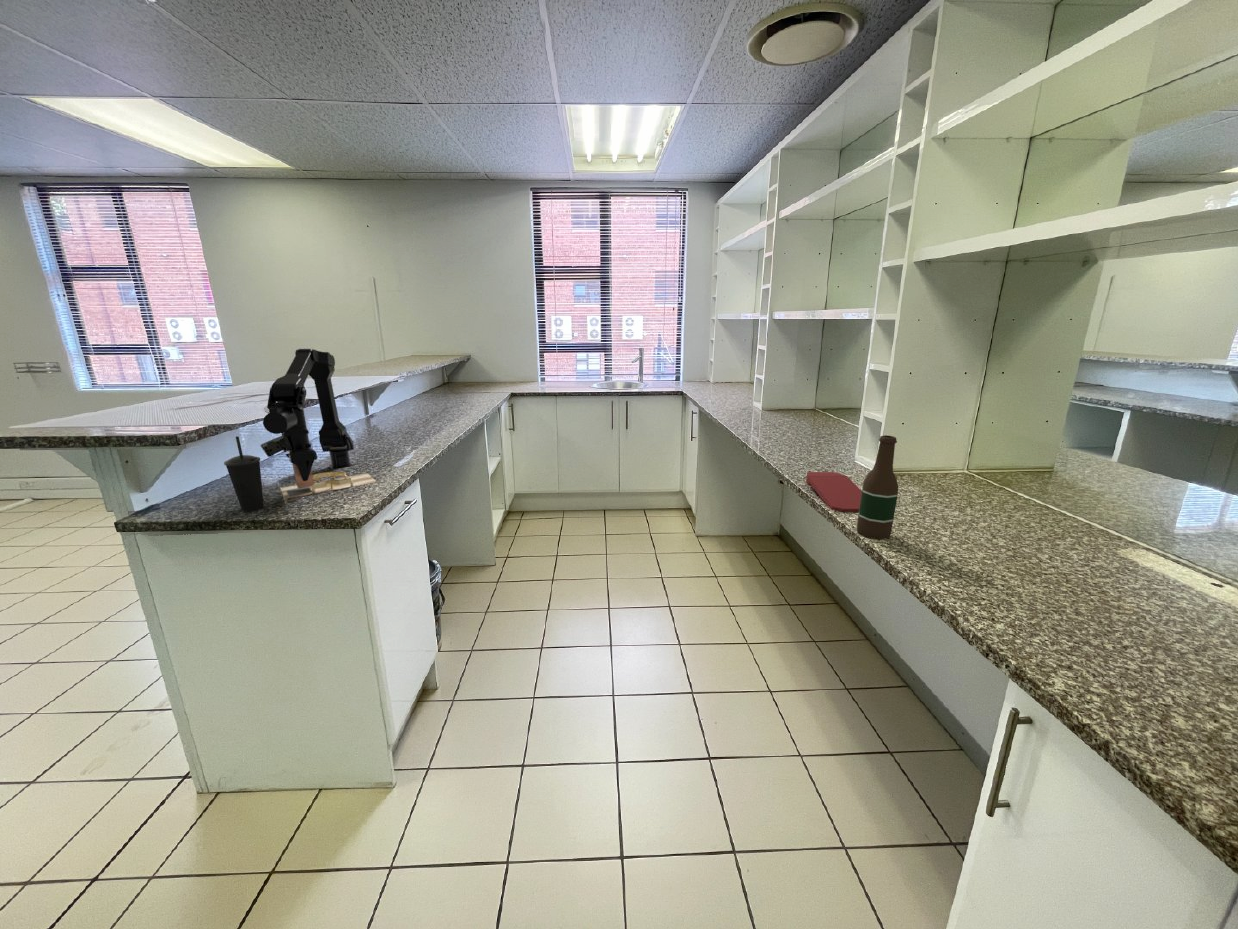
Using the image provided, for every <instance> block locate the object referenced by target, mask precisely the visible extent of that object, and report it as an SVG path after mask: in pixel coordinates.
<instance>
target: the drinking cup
mask: <svg viewBox="0 0 1238 929" xmlns="http://www.w3.org/2000/svg"><path fill="white" fill-rule="evenodd" d="M235 441H236V445H237V450H238V454H239V455H237V456H233V457H231V458H229V459H228V460H226V461H224V462H223V465H224V466H226V470H227V473H228V475H229V476H228V477H229V478H230V481H231V484H232V487H233V490H234V492H235V495H236V497H237V500H238V503H239V506H240V509H241V511H242V512H243V513H244V512H245V513H249V512H257V511H259V509H260V510H261V509H263V508H265V502H264V494H263V493H264V492H263V484H262V483H263V482H262V474H261V462H260V461H261V457H259V456H255V455H249V454H243V450H242V445H241V441H240V437H239V436H235Z"/></svg>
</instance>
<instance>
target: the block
mask: <svg viewBox="0 0 1238 929" xmlns="http://www.w3.org/2000/svg"><path fill="white" fill-rule="evenodd" d="M291 464H292V469H293V473H294V474H293V475H294V480H295V485H297V487H298V489H299V488H305V487H311V486H312V485H313V484H314V482H315V480H313V475H314V474H313V471H312V468H311V471H310V474H309V478H308V480H307V481H303V479H302V477H301V475H300V472H299V470H298V468H297V465H295V464H293V463H291Z"/></svg>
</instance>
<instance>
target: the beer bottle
mask: <svg viewBox="0 0 1238 929" xmlns="http://www.w3.org/2000/svg"><path fill="white" fill-rule="evenodd" d="M878 441H879V446H878V449H877V455H876V458H875V463H874V466H873V468H872V469H871V470H870V471H869V472H868V473H867V474H866V476H865V478H863V479H864V480H863V484H862V487H861V488H862V490H861V491H862V494H861V501H860V507H859V512H858V516H857V521H856V522H857V524H856V533H857V534H858V535H860V536H862V537H864V538H867V539H871V540H872V539H873V540H879V541H881V540H887V539H888V540H889V539H890V537H891V533H892V530H893V523H894V519H895V513H896V506H897V502H898V501H897V500H898V496H899V483H898V479H897V477H896V475H895V472H894V459H895V458H894V457H895V449H896V448H895V447H896V444H897V443H898V442H897V437H896V436H894V435H887V434H886V435H880V437H879V439H878Z"/></svg>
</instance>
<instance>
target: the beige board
mask: <svg viewBox="0 0 1238 929" xmlns="http://www.w3.org/2000/svg"><path fill="white" fill-rule="evenodd" d="M348 478H351V481H352V482H353V486H352V487H351V485H350V483H346V484H340V485H335V484H333V488H331V486H330V485H329V486H327V487H323V488H317V489H315V493H314V494H319V493H326V492H331V491H336V490H341V489H347V488H353V487H358V486H364V485H369V484H374V483H378V481H377V480H375V478H373V477H372V475H370V474H369V473H368V472H367V473H361V474H355V475H347V479H348ZM342 479H344V476H341V477H337V478H336V477H335V479H333V478H332V479H327V480H325V479H324V480H319V482H317V481H314V484H319V483H325V482H327V481H329V480H342ZM312 489H313V487H312V486H311V487H305V488H299V489H298V487H297V485H296V484H295V485H291V486H290V485H289V486H285V487H284V486H283V487H280V489H279V490H280V492H282V493H281V494H282V497H283V499H284V501H285V503H287V502H289V499H291V498H298V497H303V496H308V495H314V494H313V493H312Z"/></svg>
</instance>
